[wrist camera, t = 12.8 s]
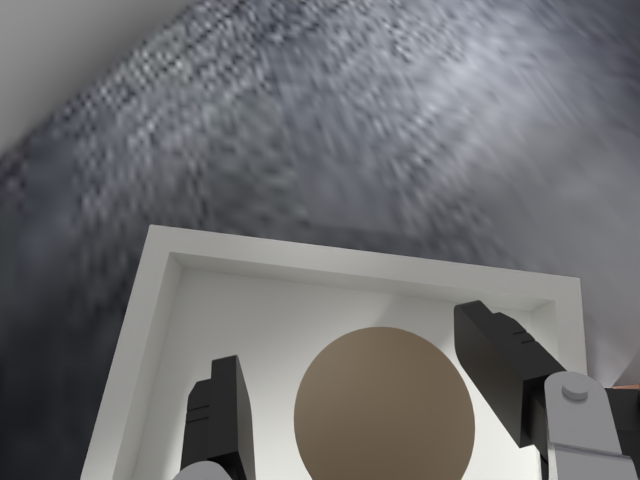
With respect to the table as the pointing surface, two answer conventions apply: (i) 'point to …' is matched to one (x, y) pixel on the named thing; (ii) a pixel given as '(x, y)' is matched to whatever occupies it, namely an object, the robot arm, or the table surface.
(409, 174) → the table surface
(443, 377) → the dowel pin
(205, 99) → the table surface
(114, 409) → the tray
